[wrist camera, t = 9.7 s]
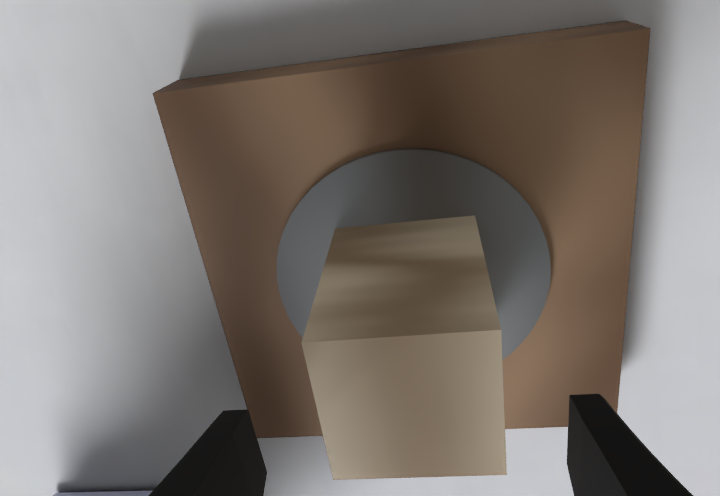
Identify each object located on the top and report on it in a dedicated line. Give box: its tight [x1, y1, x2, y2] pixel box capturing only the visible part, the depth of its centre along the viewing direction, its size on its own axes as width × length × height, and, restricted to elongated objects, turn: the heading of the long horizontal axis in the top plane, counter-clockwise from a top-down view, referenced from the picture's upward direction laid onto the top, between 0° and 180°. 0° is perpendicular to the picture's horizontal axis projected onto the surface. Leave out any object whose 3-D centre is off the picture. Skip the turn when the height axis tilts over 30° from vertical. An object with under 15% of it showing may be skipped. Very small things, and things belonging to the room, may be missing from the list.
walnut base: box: [153, 21, 650, 438], centre depth 20 cm, size 14×14×2 cm
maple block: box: [302, 215, 507, 480], centre depth 16 cm, size 4×4×6 cm
